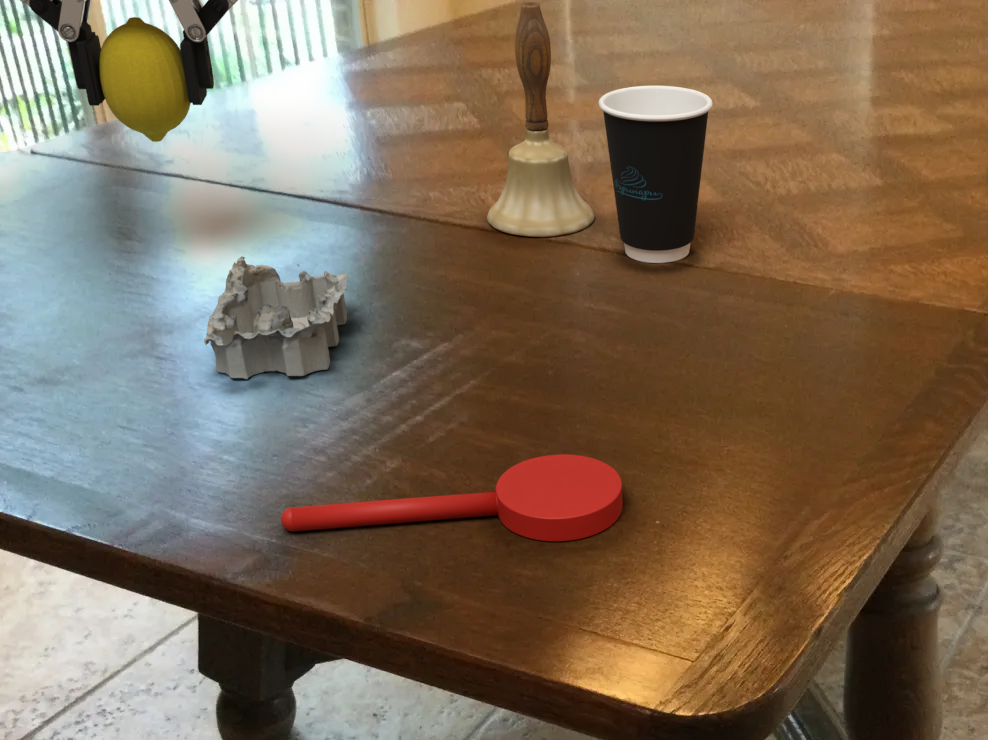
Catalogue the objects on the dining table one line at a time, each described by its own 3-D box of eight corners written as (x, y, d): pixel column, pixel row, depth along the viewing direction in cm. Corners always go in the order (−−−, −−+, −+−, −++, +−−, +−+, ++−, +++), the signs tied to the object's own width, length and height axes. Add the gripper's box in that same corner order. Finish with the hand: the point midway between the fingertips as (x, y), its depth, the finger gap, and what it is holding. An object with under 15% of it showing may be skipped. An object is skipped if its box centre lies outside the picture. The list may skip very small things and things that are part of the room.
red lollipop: (276, 566, 64) (272, 541, 64) (288, 497, 70) (284, 474, 69) (630, 536, 67) (629, 512, 66) (615, 472, 72) (614, 449, 72)
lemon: (203, 150, 90) (182, 24, 85) (113, 156, 88) (87, 27, 83) (197, 128, 94) (177, 7, 90) (112, 133, 92) (87, 10, 88)
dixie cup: (603, 272, 96) (598, 116, 90) (603, 232, 103) (598, 85, 97) (714, 270, 97) (716, 115, 90) (707, 231, 103) (708, 84, 97)
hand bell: (615, 214, 106) (610, 0, 97) (548, 245, 100) (536, 21, 91) (534, 194, 110) (521, -14, 101) (465, 223, 104) (445, 5, 95)
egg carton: (248, 311, 89) (237, 252, 87) (362, 312, 90) (354, 253, 87) (199, 382, 80) (185, 318, 78) (325, 382, 81) (315, 319, 78)
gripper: (-85, -212, 75) (-5, 116, 85) (237, -202, 78) (278, 114, 88) (-46, -221, 81) (25, 86, 91) (251, -211, 84) (288, 85, 94)
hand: (149, 97), depth 89 cm, fingers closed on lemon, 5 cm apart
